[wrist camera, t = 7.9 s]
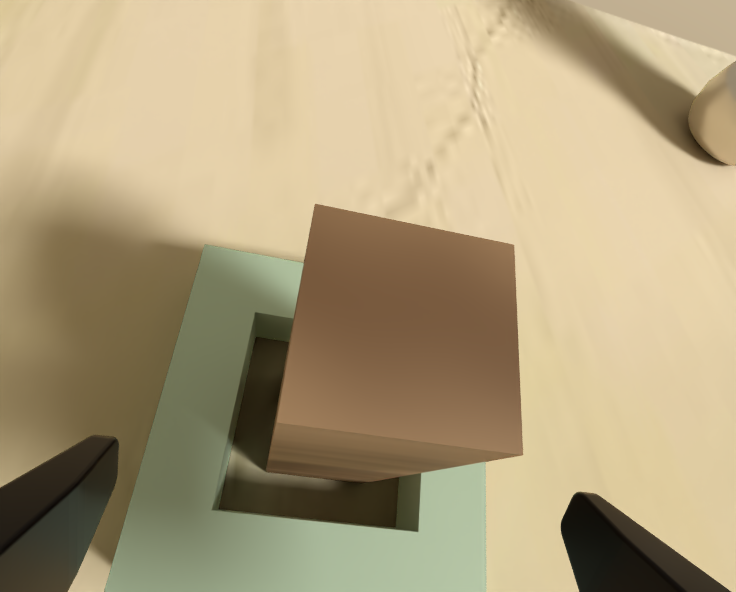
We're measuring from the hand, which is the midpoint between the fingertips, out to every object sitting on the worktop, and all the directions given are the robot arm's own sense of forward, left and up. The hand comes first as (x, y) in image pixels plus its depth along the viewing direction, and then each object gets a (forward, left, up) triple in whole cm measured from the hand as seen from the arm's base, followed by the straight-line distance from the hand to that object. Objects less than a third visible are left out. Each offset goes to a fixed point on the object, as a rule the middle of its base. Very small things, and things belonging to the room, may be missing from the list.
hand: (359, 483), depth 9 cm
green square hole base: (+2, +1, -11) cm, 11 cm away
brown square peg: (+2, +1, -11) cm, 11 cm away
